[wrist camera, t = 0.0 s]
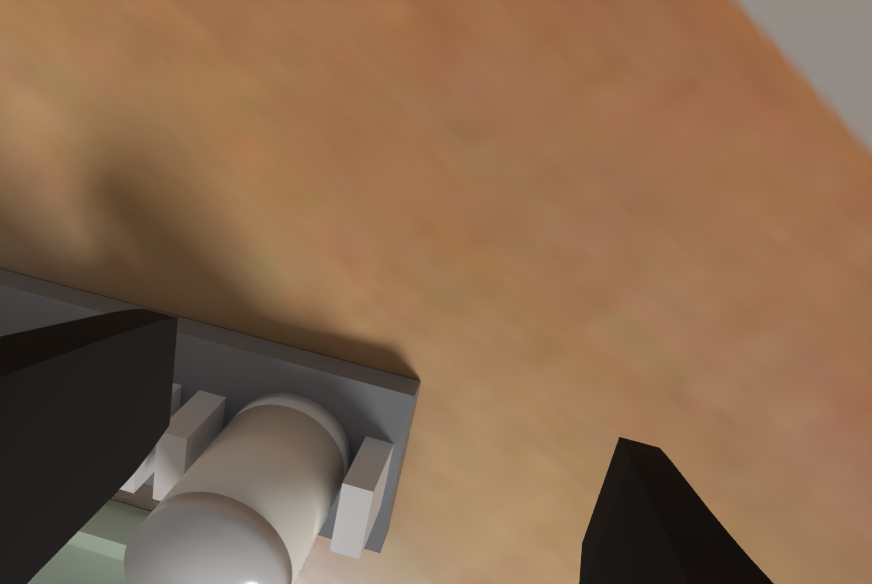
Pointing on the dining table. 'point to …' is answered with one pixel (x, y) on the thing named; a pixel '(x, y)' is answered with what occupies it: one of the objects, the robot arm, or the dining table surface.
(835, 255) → the dining table surface
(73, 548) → the tray
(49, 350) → the robot arm
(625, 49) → the dining table surface
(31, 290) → the fuse holder
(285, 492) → the fuse
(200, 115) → the dining table surface
